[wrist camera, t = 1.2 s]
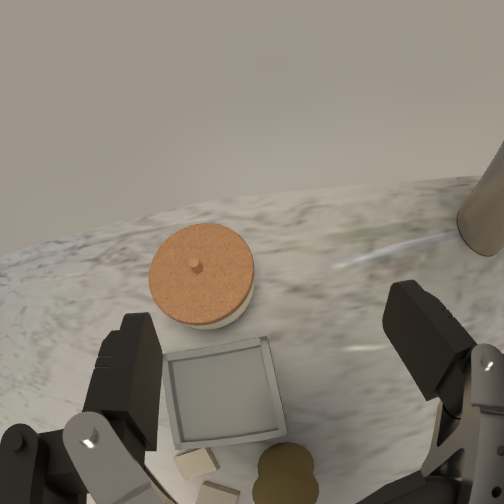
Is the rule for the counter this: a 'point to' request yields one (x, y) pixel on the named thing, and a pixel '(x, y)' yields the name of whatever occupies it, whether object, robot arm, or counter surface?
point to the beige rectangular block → (216, 494)
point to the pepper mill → (285, 476)
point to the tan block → (196, 463)
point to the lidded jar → (203, 276)
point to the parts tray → (223, 395)
